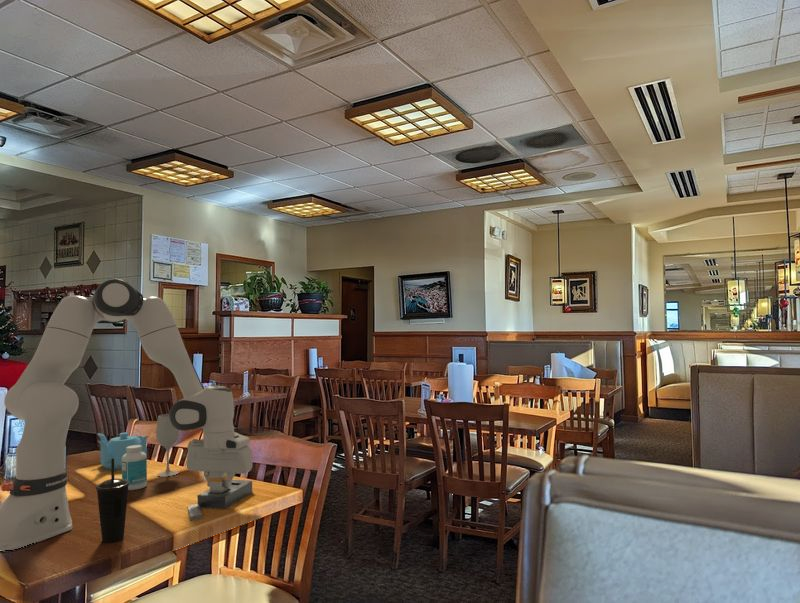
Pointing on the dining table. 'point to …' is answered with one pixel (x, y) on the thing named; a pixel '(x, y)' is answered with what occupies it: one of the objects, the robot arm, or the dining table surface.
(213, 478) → the small grey carton
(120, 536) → the drinking cup
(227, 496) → the socket block
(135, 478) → the pill bottle
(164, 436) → the wineglass
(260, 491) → the dining table surface
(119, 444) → the teapot
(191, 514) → the light grey bar
